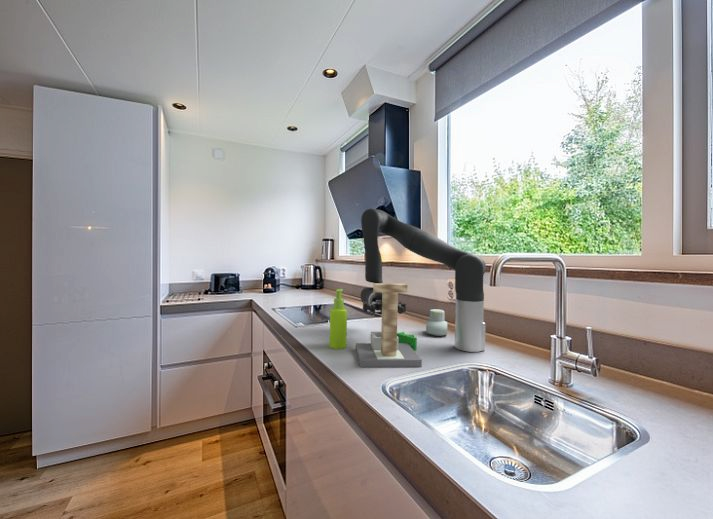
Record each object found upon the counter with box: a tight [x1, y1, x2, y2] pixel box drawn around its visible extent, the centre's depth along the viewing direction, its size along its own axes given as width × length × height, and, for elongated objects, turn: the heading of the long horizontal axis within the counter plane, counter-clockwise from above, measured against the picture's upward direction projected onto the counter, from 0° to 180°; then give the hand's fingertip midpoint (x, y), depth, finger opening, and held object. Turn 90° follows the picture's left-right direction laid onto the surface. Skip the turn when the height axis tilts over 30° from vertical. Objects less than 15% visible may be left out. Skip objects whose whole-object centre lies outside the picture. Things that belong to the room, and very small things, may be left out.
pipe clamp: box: [397, 331, 418, 352], centre depth 112 cm, size 11×4×5 cm, turn 43°
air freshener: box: [425, 308, 448, 337], centre depth 129 cm, size 11×8×10 cm
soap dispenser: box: [329, 288, 348, 350], centre depth 110 cm, size 6×7×20 cm
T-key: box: [372, 283, 408, 356], centre depth 95 cm, size 10×4×21 cm, turn 95°
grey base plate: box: [355, 331, 423, 368], centre depth 99 cm, size 18×17×6 cm
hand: (387, 310), depth 99 cm, fingers open, 8 cm apart
